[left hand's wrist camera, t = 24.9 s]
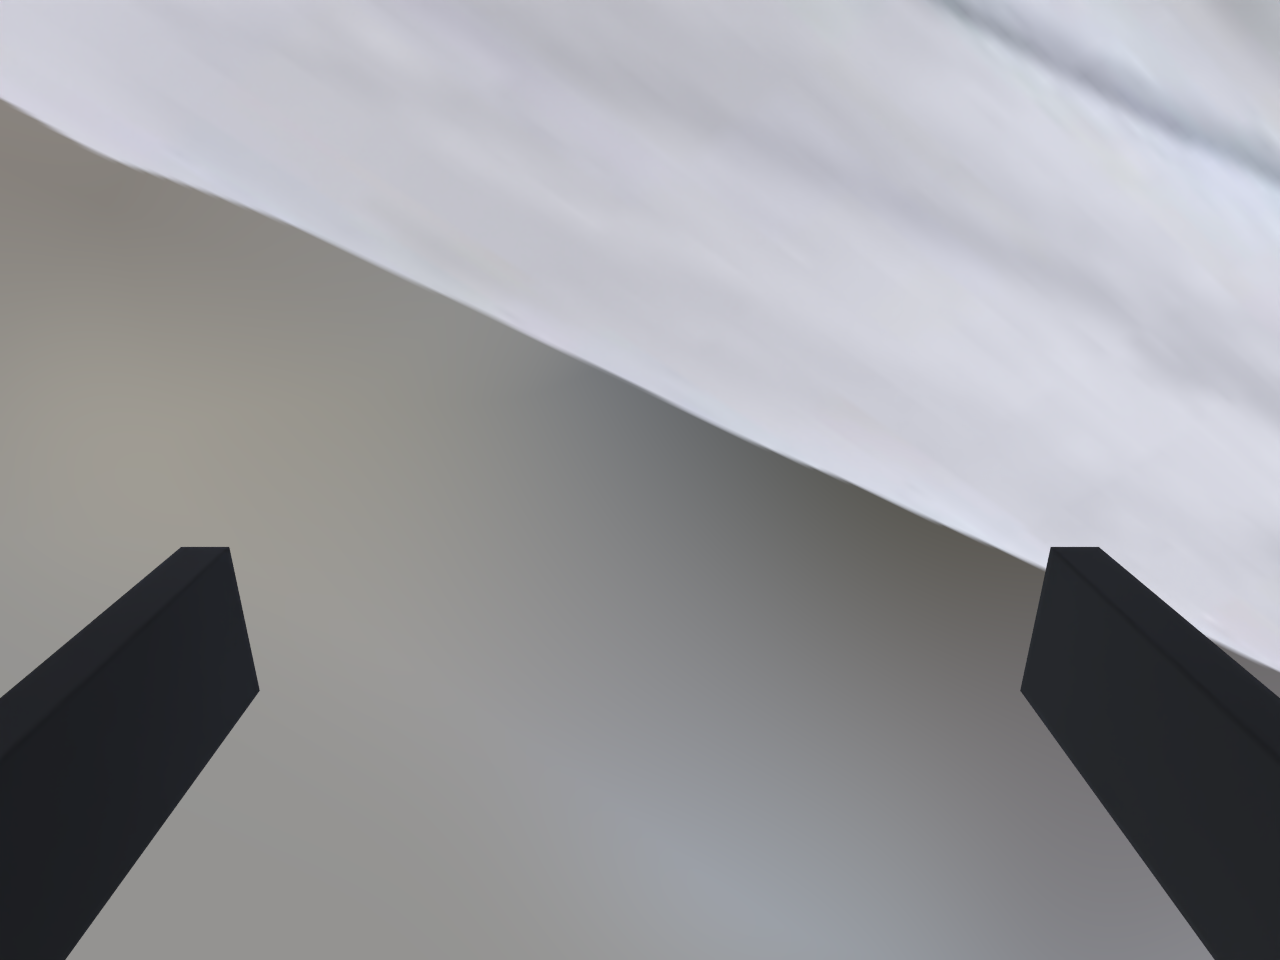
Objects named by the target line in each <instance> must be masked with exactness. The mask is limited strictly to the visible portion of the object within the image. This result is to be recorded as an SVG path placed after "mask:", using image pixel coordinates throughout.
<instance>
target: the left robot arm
mask: <svg viewBox="0 0 1280 960" xmlns="http://www.w3.org/2000/svg"><path fill="white" fill-rule="evenodd" d="M1020 691H1021V692H1022V694H1023V695H1024V696H1025V698H1026V699H1027V700H1028V702H1029V703H1030V705H1031V706H1032V707H1033V709H1034V710H1035V712H1036V713H1037V714H1038V716H1039V717H1040V718H1041V720H1042V721H1043V723H1044V724H1045V725H1046V727H1047V728H1048V730H1049V731H1050V732H1051V734H1052V735H1053V736H1054V738H1055V739H1056V741H1057V742H1058V743H1059V745H1060V746H1061V748H1062V749H1063V750H1064V752H1065V753H1066V754H1067V756H1068V757H1069V759H1070V760H1071V761H1072V763H1073V764H1074V766H1075V767H1076V768H1077V770H1078V771H1079V772H1080V774H1081V775H1082V777H1083V778H1084V779H1085V781H1086V782H1087V784H1088V785H1089V786H1090V788H1091V789H1092V790H1093V792H1094V793H1095V795H1096V796H1097V797H1098V799H1099V800H1100V802H1101V803H1102V804H1103V806H1104V807H1105V808H1106V810H1107V811H1108V813H1109V814H1110V815H1111V817H1112V818H1113V820H1114V821H1115V822H1116V824H1117V825H1118V826H1119V828H1120V829H1121V831H1122V832H1123V833H1124V835H1125V836H1126V838H1127V839H1128V840H1129V842H1130V843H1131V844H1132V846H1133V847H1134V849H1135V850H1136V851H1137V853H1138V854H1139V856H1140V857H1141V858H1142V860H1143V861H1144V862H1145V864H1146V865H1147V867H1148V868H1149V869H1150V871H1151V872H1152V874H1153V875H1154V876H1155V878H1156V879H1157V880H1158V882H1159V883H1160V885H1161V886H1162V887H1163V889H1164V890H1165V892H1166V893H1167V894H1168V896H1169V897H1170V898H1171V900H1172V901H1173V903H1174V904H1175V905H1176V907H1177V908H1178V910H1179V911H1180V912H1181V914H1182V915H1183V916H1184V918H1185V919H1186V921H1187V922H1188V923H1189V925H1190V926H1191V927H1192V929H1193V930H1194V932H1195V933H1196V934H1197V936H1198V937H1199V939H1200V940H1201V941H1202V943H1203V944H1204V946H1205V947H1206V948H1207V950H1208V951H1209V952H1210V954H1211V955H1212V957H1213V958H1214V959H1215V960H1280V698H1279V697H1278V696H1277V695H1275V694H1274V693H1273V692H1272V691H1270V690H1269V689H1268V688H1267V687H1266V686H1264V685H1263V684H1262V683H1261V682H1260V681H1259V680H1257V679H1256V678H1255V677H1254V676H1253V675H1251V674H1250V673H1249V672H1248V671H1247V670H1245V669H1244V668H1243V667H1242V666H1241V665H1239V664H1238V663H1237V662H1236V661H1235V660H1233V659H1232V658H1231V657H1230V656H1229V655H1227V654H1226V653H1225V652H1224V651H1223V650H1221V649H1220V648H1219V647H1218V646H1217V645H1215V644H1214V643H1213V642H1212V641H1211V640H1209V639H1208V638H1207V637H1206V636H1205V635H1203V634H1202V633H1201V632H1200V631H1199V630H1197V629H1196V628H1195V627H1194V626H1193V625H1191V624H1190V623H1189V622H1188V621H1187V620H1186V619H1184V618H1183V617H1182V616H1181V615H1180V614H1178V613H1177V612H1176V611H1175V610H1174V609H1172V608H1171V607H1170V606H1169V605H1168V604H1166V603H1165V602H1164V601H1163V600H1162V599H1160V598H1159V597H1158V596H1157V595H1156V594H1154V593H1153V592H1152V591H1151V590H1150V589H1148V588H1147V587H1146V586H1145V585H1144V584H1142V583H1141V582H1140V581H1139V580H1138V579H1136V578H1135V577H1134V576H1133V575H1132V574H1130V573H1129V572H1128V571H1127V570H1126V569H1124V568H1123V567H1122V566H1121V565H1120V564H1118V563H1117V562H1116V561H1115V560H1114V559H1112V558H1111V557H1110V556H1109V555H1108V554H1106V553H1105V552H1104V551H1103V550H1102V549H1100V548H1099V547H1051V549H1050V553H1049V558H1048V563H1047V567H1046V572H1045V577H1044V582H1043V586H1042V591H1041V596H1040V601H1039V605H1038V610H1037V615H1036V620H1035V624H1034V629H1033V634H1032V638H1031V643H1030V648H1029V653H1028V657H1027V662H1026V667H1025V671H1024V676H1023V681H1022V685H1021V690H1020ZM258 692H259V686H258V681H257V676H256V671H255V667H254V662H253V657H252V653H251V648H250V643H249V638H248V634H247V629H246V624H245V620H244V615H243V610H242V605H241V600H240V596H239V591H238V586H237V582H236V577H235V572H234V567H233V563H232V558H231V553H230V549H229V547H181V548H180V549H178V550H177V551H176V552H175V553H174V554H172V555H171V556H170V557H169V558H168V559H166V560H165V561H164V562H163V563H162V564H160V565H159V566H158V567H157V568H156V569H154V570H153V571H152V572H151V573H150V574H148V575H147V576H146V577H145V578H144V579H143V580H141V581H140V582H139V583H138V584H136V585H135V586H134V587H133V588H132V589H130V590H129V591H128V592H127V593H126V594H124V595H123V596H122V597H121V598H120V599H118V600H117V601H116V602H115V603H114V604H112V605H111V606H110V607H109V608H108V609H107V610H105V611H104V612H103V613H102V614H100V615H99V616H98V617H97V618H96V619H94V620H93V621H92V622H91V623H90V624H89V625H87V626H86V627H85V628H84V629H83V630H81V631H80V632H79V633H78V634H77V635H75V636H74V637H73V638H72V639H71V640H69V641H68V642H67V643H66V644H65V645H63V646H62V647H61V648H60V649H59V650H57V651H56V652H55V653H54V654H53V655H51V656H50V657H49V658H48V659H47V660H45V661H44V662H43V663H42V664H41V665H39V666H38V667H37V668H36V669H35V670H34V671H32V672H31V673H30V674H29V675H27V676H26V677H25V678H24V679H23V680H21V681H20V682H19V683H18V684H17V685H15V686H14V687H13V688H12V689H11V690H9V691H8V692H7V693H6V694H5V695H3V696H2V697H1V698H0V960H65V959H66V958H67V957H68V955H69V954H70V952H71V951H72V950H73V948H74V947H75V946H76V944H77V943H78V941H79V940H80V939H81V937H82V936H83V934H84V933H85V932H86V930H87V929H88V928H89V926H90V925H91V923H92V922H93V921H94V919H95V918H96V916H97V915H98V914H99V912H100V911H101V910H102V908H103V907H104V905H105V904H106V903H107V901H108V900H109V898H110V897H111V896H112V894H113V893H114V892H115V890H116V889H117V887H118V886H119V884H120V883H121V882H122V880H123V879H124V878H125V876H126V875H127V874H128V872H129V871H130V869H131V868H132V867H133V865H134V864H135V862H136V861H137V860H138V858H139V857H140V856H141V854H142V853H143V851H144V850H145V849H146V847H147V846H148V844H149V843H150V842H151V840H152V839H153V838H154V836H155V835H156V833H157V832H158V831H159V829H160V828H161V826H162V825H163V824H164V822H165V821H166V819H167V818H168V817H169V815H170V814H171V813H172V811H173V810H174V808H175V807H176V806H177V804H178V803H179V801H180V800H181V799H182V797H183V796H184V795H185V793H186V792H187V790H188V789H189V788H190V786H191V785H192V784H193V782H194V781H195V779H196V778H197V777H198V775H199V774H200V772H201V771H202V770H203V768H204V767H205V765H206V764H207V763H208V761H209V760H210V759H211V757H212V756H213V754H214V753H215V752H216V750H217V749H218V748H219V746H220V745H221V743H222V742H223V741H224V739H225V738H226V736H227V735H228V734H229V732H230V731H231V730H232V728H233V727H234V725H235V724H236V723H237V721H238V720H239V718H240V717H241V716H242V714H243V713H244V712H245V710H246V709H247V707H248V706H249V705H250V703H251V702H252V700H253V699H254V698H255V696H256V695H257V693H258Z"/></svg>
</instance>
